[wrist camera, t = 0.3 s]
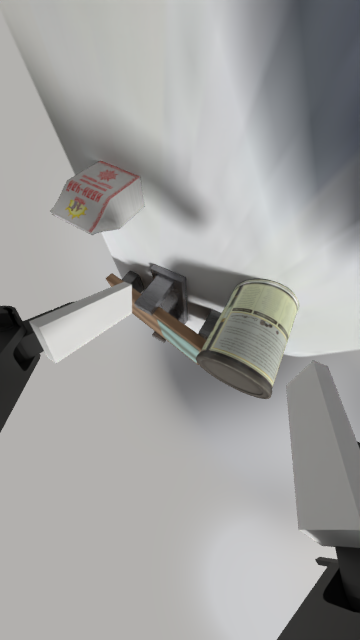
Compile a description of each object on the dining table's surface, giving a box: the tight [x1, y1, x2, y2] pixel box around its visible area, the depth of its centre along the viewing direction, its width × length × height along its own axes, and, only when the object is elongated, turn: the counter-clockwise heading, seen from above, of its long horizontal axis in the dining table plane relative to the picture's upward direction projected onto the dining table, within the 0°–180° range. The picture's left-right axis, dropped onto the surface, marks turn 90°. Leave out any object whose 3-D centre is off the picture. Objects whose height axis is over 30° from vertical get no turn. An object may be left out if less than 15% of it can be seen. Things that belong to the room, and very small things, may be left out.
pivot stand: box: [122, 264, 221, 343], centre depth 41 cm, size 20×28×10 cm
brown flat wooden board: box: [106, 274, 207, 365], centre depth 40 cm, size 15×28×2 cm, turn 93°
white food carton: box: [50, 161, 145, 235], centre depth 21 cm, size 4×7×10 cm, turn 87°
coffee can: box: [196, 279, 299, 399], centre depth 24 cm, size 10×10×14 cm
